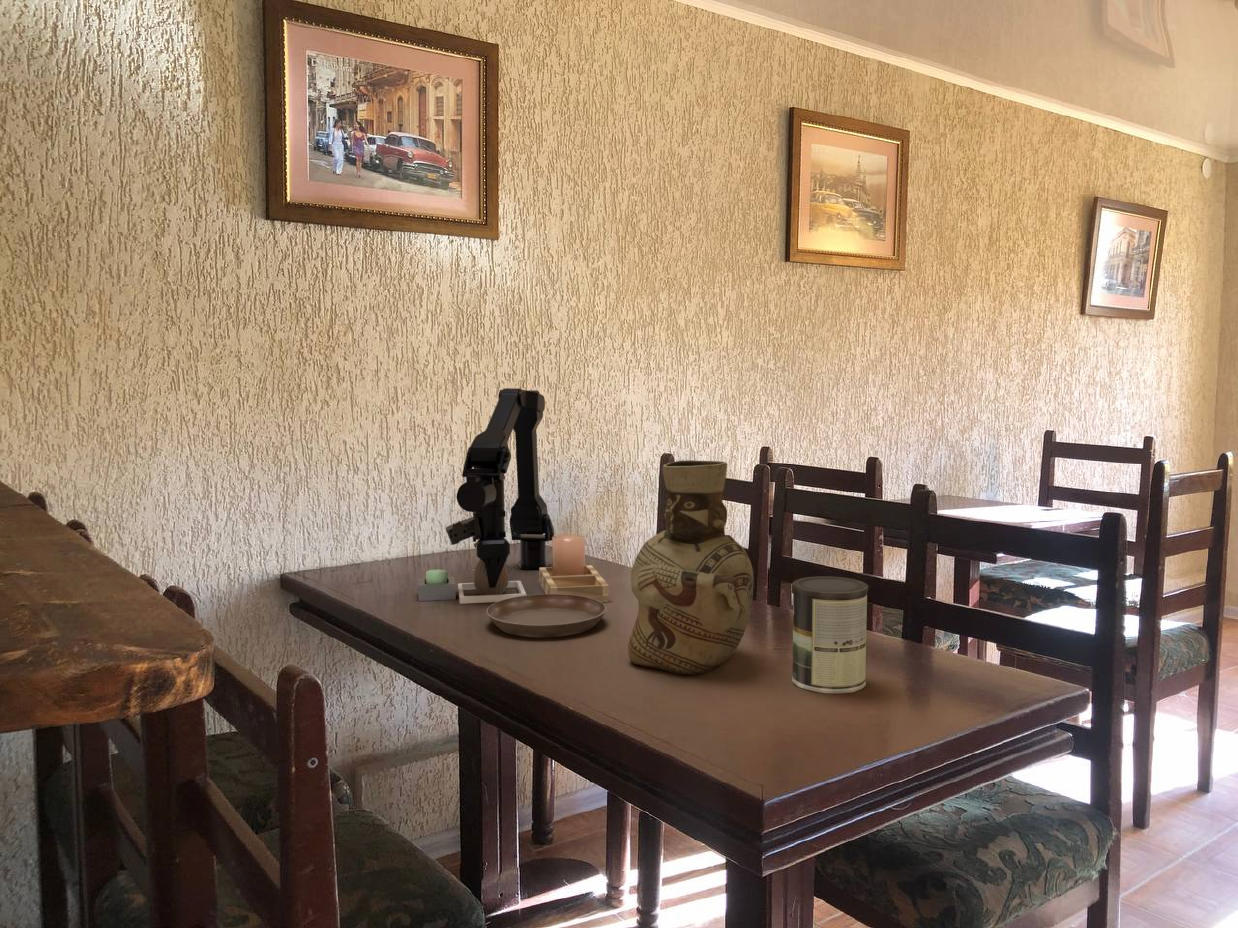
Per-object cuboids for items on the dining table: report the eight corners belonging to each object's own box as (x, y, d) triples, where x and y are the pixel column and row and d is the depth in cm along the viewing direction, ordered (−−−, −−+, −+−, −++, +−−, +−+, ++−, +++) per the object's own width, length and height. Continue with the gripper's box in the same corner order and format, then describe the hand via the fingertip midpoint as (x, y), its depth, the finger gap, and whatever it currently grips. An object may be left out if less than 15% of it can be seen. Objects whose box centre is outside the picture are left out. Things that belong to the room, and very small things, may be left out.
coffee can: (777, 684, 138) (778, 585, 136) (813, 666, 146) (814, 572, 144) (845, 699, 131) (847, 595, 130) (878, 680, 139) (880, 582, 138)
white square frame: (457, 589, 199) (457, 583, 199) (520, 586, 201) (520, 580, 201) (459, 603, 186) (459, 597, 186) (526, 600, 189) (526, 594, 189)
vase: (506, 598, 190) (505, 553, 189) (470, 598, 190) (469, 554, 190) (511, 590, 197) (510, 547, 196) (476, 590, 197) (475, 547, 196)
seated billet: (550, 578, 203) (550, 535, 202) (582, 576, 204) (582, 533, 204) (554, 584, 197) (554, 540, 196) (587, 583, 198) (587, 539, 197)
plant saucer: (591, 645, 159) (591, 625, 158) (469, 638, 163) (469, 619, 162) (617, 614, 179) (617, 596, 178) (508, 609, 183) (508, 591, 183)
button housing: (418, 593, 195) (418, 578, 195) (454, 591, 197) (454, 576, 197) (418, 601, 189) (418, 585, 188) (455, 599, 190) (455, 584, 190)
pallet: (539, 582, 204) (539, 567, 204) (591, 580, 207) (591, 565, 206) (551, 604, 185) (551, 588, 185) (608, 602, 187) (608, 585, 187)
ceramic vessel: (660, 689, 136) (660, 472, 133) (608, 649, 155) (606, 460, 153) (781, 673, 143) (784, 467, 140) (716, 636, 162) (717, 455, 159)
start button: (426, 592, 194) (426, 569, 194) (447, 591, 195) (446, 568, 195) (426, 596, 190) (426, 573, 190) (447, 595, 191) (447, 572, 191)
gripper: (446, 500, 200) (448, 575, 201) (448, 512, 181) (450, 596, 183) (501, 498, 202) (503, 573, 203) (509, 511, 184) (510, 593, 185)
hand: (491, 583), depth 194 cm, fingers closed on vase, 7 cm apart
